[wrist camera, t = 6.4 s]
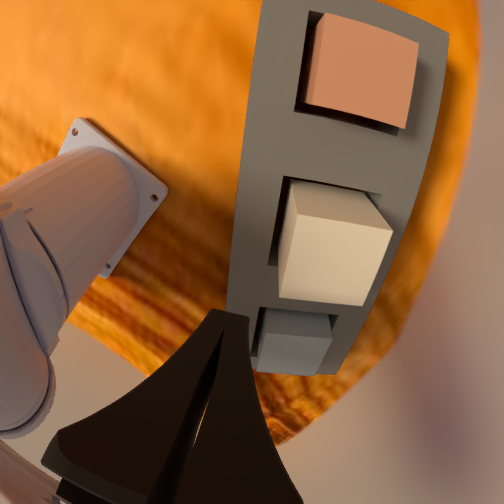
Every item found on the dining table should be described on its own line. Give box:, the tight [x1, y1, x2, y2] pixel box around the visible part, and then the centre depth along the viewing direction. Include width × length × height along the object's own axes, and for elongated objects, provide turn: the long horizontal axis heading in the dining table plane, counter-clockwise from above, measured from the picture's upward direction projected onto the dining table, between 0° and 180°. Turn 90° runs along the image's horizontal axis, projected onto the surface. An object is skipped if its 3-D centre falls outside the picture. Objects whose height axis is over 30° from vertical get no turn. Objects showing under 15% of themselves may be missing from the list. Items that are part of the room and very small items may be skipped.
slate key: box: [257, 307, 333, 376], centre depth 19 cm, size 4×4×4 cm
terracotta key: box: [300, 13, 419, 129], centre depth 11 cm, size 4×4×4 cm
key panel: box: [225, 0, 449, 375], centre depth 15 cm, size 24×9×3 cm, turn 173°
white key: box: [278, 179, 393, 306], centre depth 13 cm, size 4×4×4 cm
